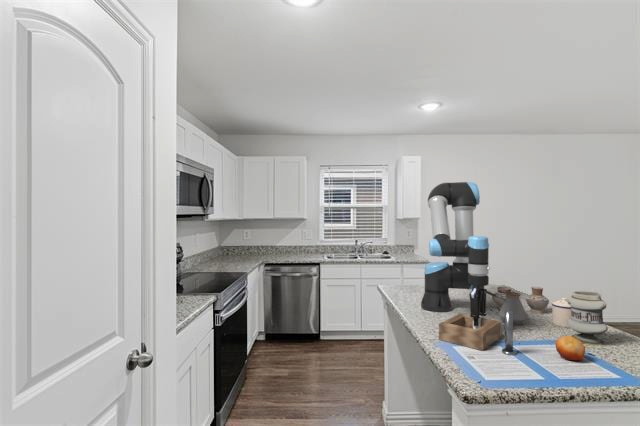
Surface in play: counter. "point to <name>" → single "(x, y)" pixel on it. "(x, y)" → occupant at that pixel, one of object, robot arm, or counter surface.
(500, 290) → the pottery
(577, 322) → the apothecary jar
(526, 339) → the counter surface
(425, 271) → the robot arm
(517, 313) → the coffee pot
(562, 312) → the teacup with lid
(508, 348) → the metal post
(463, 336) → the walnut box
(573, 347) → the fruit
